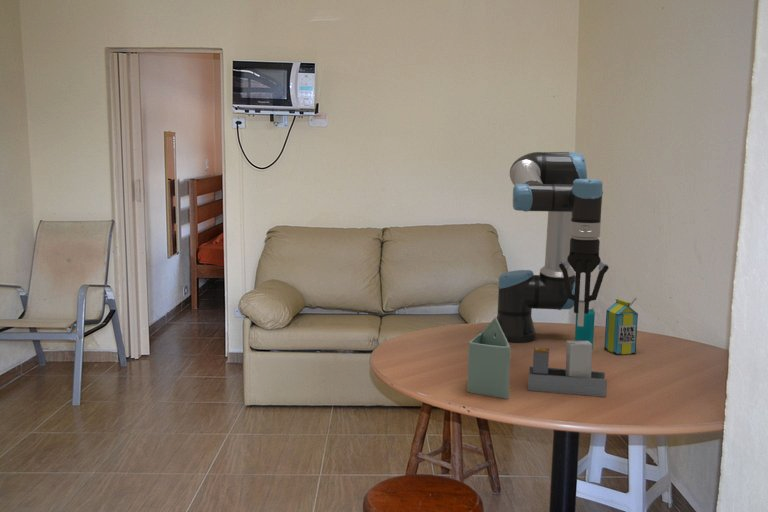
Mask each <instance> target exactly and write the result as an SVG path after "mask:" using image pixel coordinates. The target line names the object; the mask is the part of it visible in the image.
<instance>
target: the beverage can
mask: <svg viewBox="0 0 768 512" xmlns="http://www.w3.org/2000/svg"><path fill="white" fill-rule="evenodd" d="M595 315H596V314H595V308H594V306H590V305H589V312H588V314H584V325H583V327H582V326H578V325H577V321H578V313H575V328H574V329H575V330H574V341H589V342H590V343H591V344H592V351H593V350H594V336H595V335H594V333H595Z"/></svg>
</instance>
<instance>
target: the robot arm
mask: <svg viewBox="0 0 768 512" xmlns="http://www.w3.org/2000/svg"><path fill="white" fill-rule="evenodd" d="M585 159H586V158H585V157H584V155H583V154H582V153H580V152H570V151H547V152H546V151H543V152H542V151H535V152H529V153H526V154H524V155H522V156H520V157H519V158H517V159H516V160H515V161H514V162H513V163H512V165H511V166H510V170H509V177H510V181H511V183H512V185H513V188H512V208H513V210H515V211H519V212H525V213H526V212H527V213H528V212H547V224H546V225H547V227H546V241H545V256H544V257H545V258H544V266H542V267H540V270H539V274H534V272H533V270H530V269H527V270H525V269H519V270H510V271H506V272H503V273H501V274H500V275H499V277H498V285H497V290H498V295H497V313H496V314H497V316H496V318H497V320H498V322H499V324H500V327H501V329H502V331H503V333H504V335H505V337H506V339H507V341H508V343H527V342H532V341H534V340H536V339H537V334H536V333H537V331H536V328H535V325H534V321H533V317H532V309H533V310H534V309H536V310H537V309H539V310H558V311H562V310H572V309H573V312H574V314H576V313H578V321H577V325H578V326H582V327H583V325H584V314H588V312H589V306H590V302H592V301H596V300H597V298H598V295H599V291H600V289H601V286H602V282H603V280H604V276H605V274H606V272H607V271H608V270H609V267H610V266H609V265H608V264H607V263H604V262H603V261H602V260H601V257H600V244H601V243H600V242H601V241H600V239H599V238H600V237H601V223H602V221H601V219H602V203H603V194H604V191H603V181H602V180H601V179H597V178H588V172H587V164H586V160H585ZM597 267H598V270H599V271H598V273H597V277H596V281H595V284H594V287H593V290H592V293H591V294H590V292H591V277H592V273H593V272H594V271H595V270H596V268H597ZM582 273H584V274H585V277H584V278H585V279H584V294H583V295H584V296H583V297H584V300H580V294H581V293H580V292H581V291H580V289H581V277H582V276H581V274H582ZM495 337H496V334H495Z"/></svg>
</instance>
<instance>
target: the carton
mask: <svg viewBox="0 0 768 512" xmlns="http://www.w3.org/2000/svg"><path fill="white" fill-rule="evenodd" d="M636 300H637V297H634V298H633V299H632V300H631V302H628V301H626V300H622V299H619V298H617V299H615V302H614V303H613V304H612V305H610V307H608V308H607V309H606V313H605V317H606V318H605V331H604V332H605V333H604V334H605V335H604V348H603V349H604V351H607V352H608V353H610V354H612V355H615V356H627V355H628V356H629V355H630V356H631V355H636V352H637V337H638V336H637V335H638V334H637V332H638V318H639V317H638V316H639V313H638V312H636V311H635V310H634V309H633V308H631V306H632V305H633V304H634V303H635V301H636Z"/></svg>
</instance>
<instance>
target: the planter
mask: <svg viewBox="0 0 768 512" xmlns="http://www.w3.org/2000/svg"><path fill="white" fill-rule="evenodd" d="M495 334H496V337H495ZM467 355H468V356H467V359H468V362H467V389H466V390H467V391H468V392H467V391H466V392H467V393H469V392H471V393H470V394H474V393H476V395H481V396H487V397H492V396H493V398H499V399H504V400H505V399H506V400H509V398H510V379H511V378H510V377H511V374H510V372H511V346H510V342H508V341H507V339H506V337H505V335H504V333H503V331H502V329H501V327H500V324H499V322H498V320H497V317H494V318H493V319H492V320H491V322H489V324H488V325H487V326H486V327H484V328H483V330H482V331H480V332H479V334H478V335H476V336H475V337H474V338H473V339H471V340H470V341H469V342H468V354H467Z"/></svg>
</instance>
